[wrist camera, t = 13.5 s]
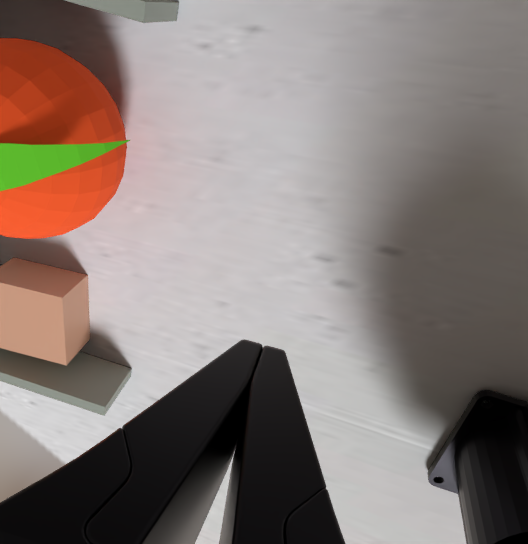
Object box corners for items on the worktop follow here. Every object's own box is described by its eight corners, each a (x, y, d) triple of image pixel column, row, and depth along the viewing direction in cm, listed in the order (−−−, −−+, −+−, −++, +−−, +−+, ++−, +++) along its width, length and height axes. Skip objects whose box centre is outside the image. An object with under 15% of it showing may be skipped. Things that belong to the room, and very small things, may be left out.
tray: (130, 376, 27) (104, 415, 24) (-11, 330, 28) (-51, 363, 25) (178, 2, 18) (145, 2, 15) (-35, -57, 18) (-102, -68, 16)
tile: (92, 336, 27) (66, 365, 24) (23, 319, 27) (-8, 346, 25) (90, 273, 25) (62, 297, 23) (16, 255, 25) (-18, 278, 23)
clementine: (158, 17, 18) (48, 21, 12) (193, 196, 21) (120, 272, 15) (-23, 45, 20) (-198, 60, 14) (34, 206, 23) (-90, 276, 17)
